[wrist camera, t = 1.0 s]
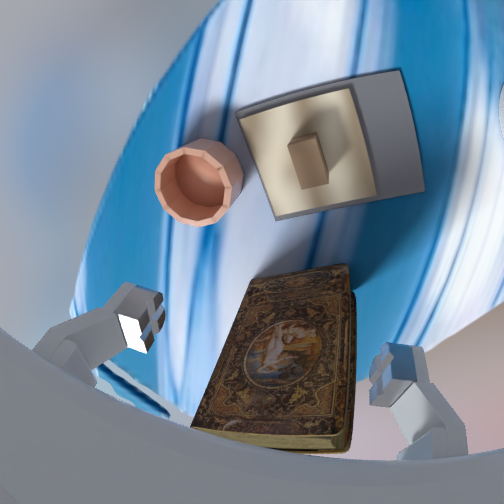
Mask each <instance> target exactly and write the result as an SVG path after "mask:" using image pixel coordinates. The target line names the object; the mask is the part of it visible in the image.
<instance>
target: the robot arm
mask: <svg viewBox="0 0 504 504" xmlns="http://www.w3.org/2000/svg"><path fill="white" fill-rule="evenodd" d="M499 119H500V126H501V131H502V135H503V138H504V85H503V87H502V91H501V95H500V101H499ZM162 302H163V295H162V293H160V292H157V291H154V290H151V289H148V288H145V287H142V286H139V285H135V284H132V283H129V282H125V283H123V284H122V285H121V286H120V288H119V289H118V290H117V291H116V292H115V294H114V295H113V296H112V297H111V298H110V299H109V301H108V302H107V303H106V304H105V306H104V307H103V308H100V307H99V308H97V309H94V310H92V311H89V312H87V313H85V314H82V315H80V316H78V317H75V318H73V319H70V320H68V321H66V322H63V323H61V324H59V325H56V326H54V327H52V328H50V329H49V330H48V331H47V333H46V334H45V335H44V336H43V338H42V339H41V340H40V341H39V342H38V344H37V345H36V346H35V347H34V348H33V350H31V349H29V348H28V347H26V346H25V345H23V344H22V343H20V342H19V341H18V340H16V339H15V338H13V337H12V336H11V335H9V334H8V333H7V332H6V331H4V330H3V329H2V328H0V504H504V448H502V449H497V450H492V451H487V452H482V453H476V454H470V455H468V446H467V437H466V429H465V425H464V423H463V422H462V420H461V419H460V418H459V416H458V415H457V414H456V412H455V411H454V410H453V408H452V407H451V406H450V404H449V403H448V402H447V401H446V399H445V398H444V397H443V395H442V394H441V393H440V391H439V390H438V389H437V388H436V386H435V385H434V384H433V383H430V381H429V375H428V370H427V364H426V360H425V354H424V350H423V348H422V347H419V346H411V345H410V346H409V345H404V344H396V343H389V342H385V343H384V344H383V345H382V347H381V348H380V351H381V354H379V355H377V356H375V358H374V360H373V361H372V364H371V367H370V373H369V380H370V382H371V383H372V384H373V386H372V387H371V389H370V405H372V406H381V407H390V410H391V412H392V414H393V416H394V418H395V420H396V422H397V424H398V426H399V427H400V429H401V431H402V433H403V435H404V437H405V439H406V441H407V443H408V445H409V446H408V447H407V448H405V449H404V450H402V451H401V452H399V453H398V454H397V460H395V461H384V460H383V461H382V460H381V461H380V460H354V459H341V458H330V457H320V456H311V455H305V454H298V453H292V452H286V451H280V450H275V449H270V448H265V447H260V446H255V445H251V444H246V443H242V442H238V441H234V440H230V439H227V438H223V437H219V436H216V435H212V434H209V433H206V432H202V431H199V430H196V429H193V428H190V427H187V426H184V425H181V424H178V423H175V422H173V421H170V420H167V419H164V418H162V417H159V416H157V415H154V414H152V413H149V412H147V411H144V410H142V409H139V408H137V407H135V406H132V405H130V404H128V403H126V402H123V401H121V400H119V399H117V398H115V397H113V396H111V395H109V394H106V393H104V392H102V391H100V390H98V389H96V388H95V385H96V384H97V380H96V378H95V377H94V375H93V373H92V371H91V370H92V369H94V368H96V367H97V366H99V365H100V364H102V363H104V362H105V361H107V360H109V359H110V358H112V357H113V356H115V355H117V354H118V353H120V352H121V351H123V350H125V349H126V348H127V347H130V348H133V349H136V350H138V351H141V352H144V353H147V352H148V350H149V349H150V347H151V345H152V344H153V342H154V336H153V335H154V334H156V333H158V332H160V330H161V328H162V327H163V324H164V321H165V309H164V307H163V306H162V305H161V303H162Z"/></svg>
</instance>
